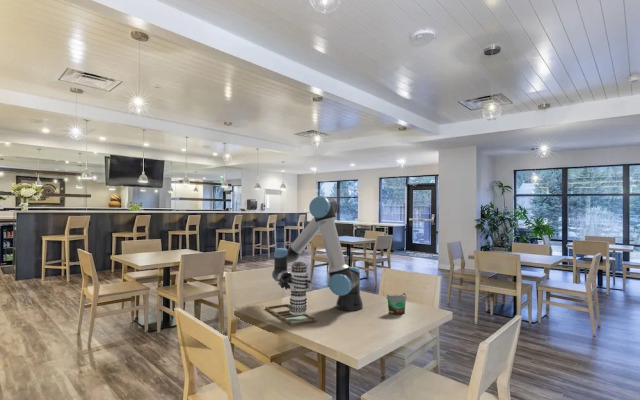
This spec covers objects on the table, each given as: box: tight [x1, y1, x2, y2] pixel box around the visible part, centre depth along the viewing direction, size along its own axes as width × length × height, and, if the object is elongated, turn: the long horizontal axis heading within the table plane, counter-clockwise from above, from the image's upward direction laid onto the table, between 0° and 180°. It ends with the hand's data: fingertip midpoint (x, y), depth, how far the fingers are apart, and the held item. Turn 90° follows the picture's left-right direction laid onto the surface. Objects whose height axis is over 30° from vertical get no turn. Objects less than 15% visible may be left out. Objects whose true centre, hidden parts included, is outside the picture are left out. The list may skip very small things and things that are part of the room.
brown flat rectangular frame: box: [265, 303, 318, 327], centre depth 187 cm, size 34×14×1 cm, turn 30°
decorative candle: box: [289, 261, 309, 315], centre depth 179 cm, size 9×9×25 cm
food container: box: [386, 292, 408, 316], centre depth 190 cm, size 12×6×10 cm, turn 117°
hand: (302, 287), depth 174 cm, fingers closed on decorative candle, 9 cm apart
